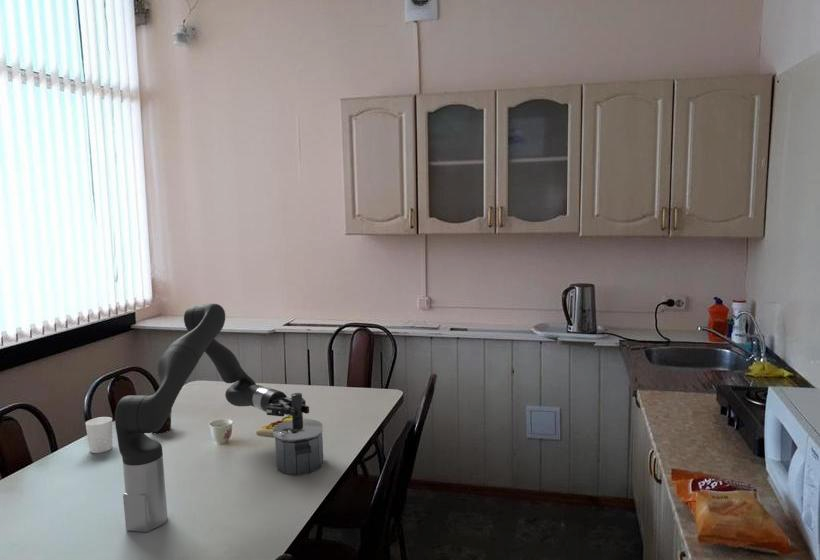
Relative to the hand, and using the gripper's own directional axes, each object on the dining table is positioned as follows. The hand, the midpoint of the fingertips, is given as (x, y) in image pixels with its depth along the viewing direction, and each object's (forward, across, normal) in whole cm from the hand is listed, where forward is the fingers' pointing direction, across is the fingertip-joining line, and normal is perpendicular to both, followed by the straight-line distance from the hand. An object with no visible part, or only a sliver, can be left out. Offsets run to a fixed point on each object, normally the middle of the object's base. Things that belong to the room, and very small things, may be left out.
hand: (303, 411), depth 178 cm
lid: (-3, 0, +7) cm, 8 cm away
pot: (-3, 0, +18) cm, 18 cm away
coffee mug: (-67, -12, +18) cm, 71 cm away
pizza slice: (-34, +18, +19) cm, 42 cm away
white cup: (-66, -34, +18) cm, 77 cm away
